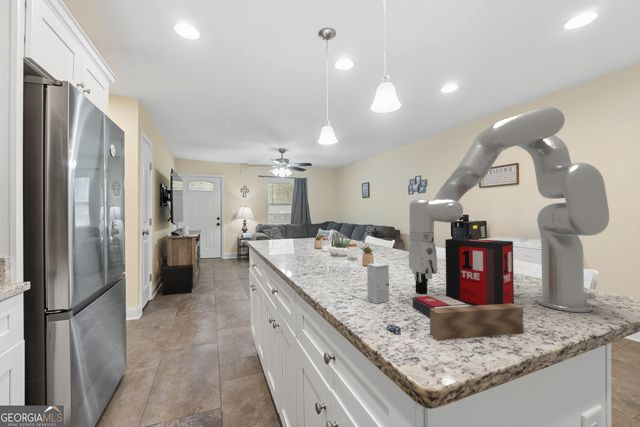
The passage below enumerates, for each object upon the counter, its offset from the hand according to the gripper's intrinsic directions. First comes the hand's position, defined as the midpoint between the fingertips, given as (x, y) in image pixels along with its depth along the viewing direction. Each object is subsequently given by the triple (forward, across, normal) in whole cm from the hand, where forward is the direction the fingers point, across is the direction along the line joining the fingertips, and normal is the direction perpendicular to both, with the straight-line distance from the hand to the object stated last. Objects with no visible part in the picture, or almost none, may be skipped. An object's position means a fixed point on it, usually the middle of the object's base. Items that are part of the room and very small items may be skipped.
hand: (421, 293), depth 86 cm
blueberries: (+3, -19, +18) cm, 26 cm away
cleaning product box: (+3, -4, -17) cm, 18 cm away
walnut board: (+2, -24, 0) cm, 24 cm away
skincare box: (+3, +3, +14) cm, 14 cm away
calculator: (+3, -12, 0) cm, 12 cm away
